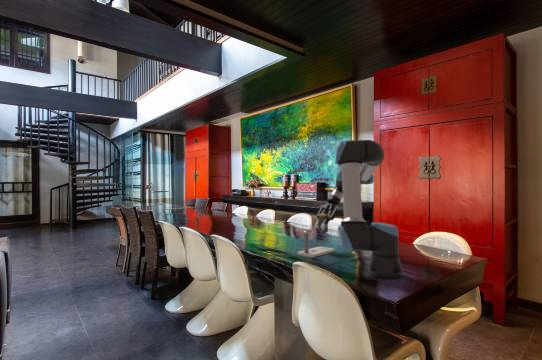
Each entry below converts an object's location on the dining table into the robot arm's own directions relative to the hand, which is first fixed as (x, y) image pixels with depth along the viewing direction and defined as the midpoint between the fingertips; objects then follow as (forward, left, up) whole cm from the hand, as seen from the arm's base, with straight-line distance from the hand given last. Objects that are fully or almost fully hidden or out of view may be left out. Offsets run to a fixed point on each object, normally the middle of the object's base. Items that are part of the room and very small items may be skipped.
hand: (319, 227), depth 177 cm
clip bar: (-6, +10, -2) cm, 12 cm away
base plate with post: (-3, +1, -15) cm, 16 cm away
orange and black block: (+3, -2, -3) cm, 5 cm away
